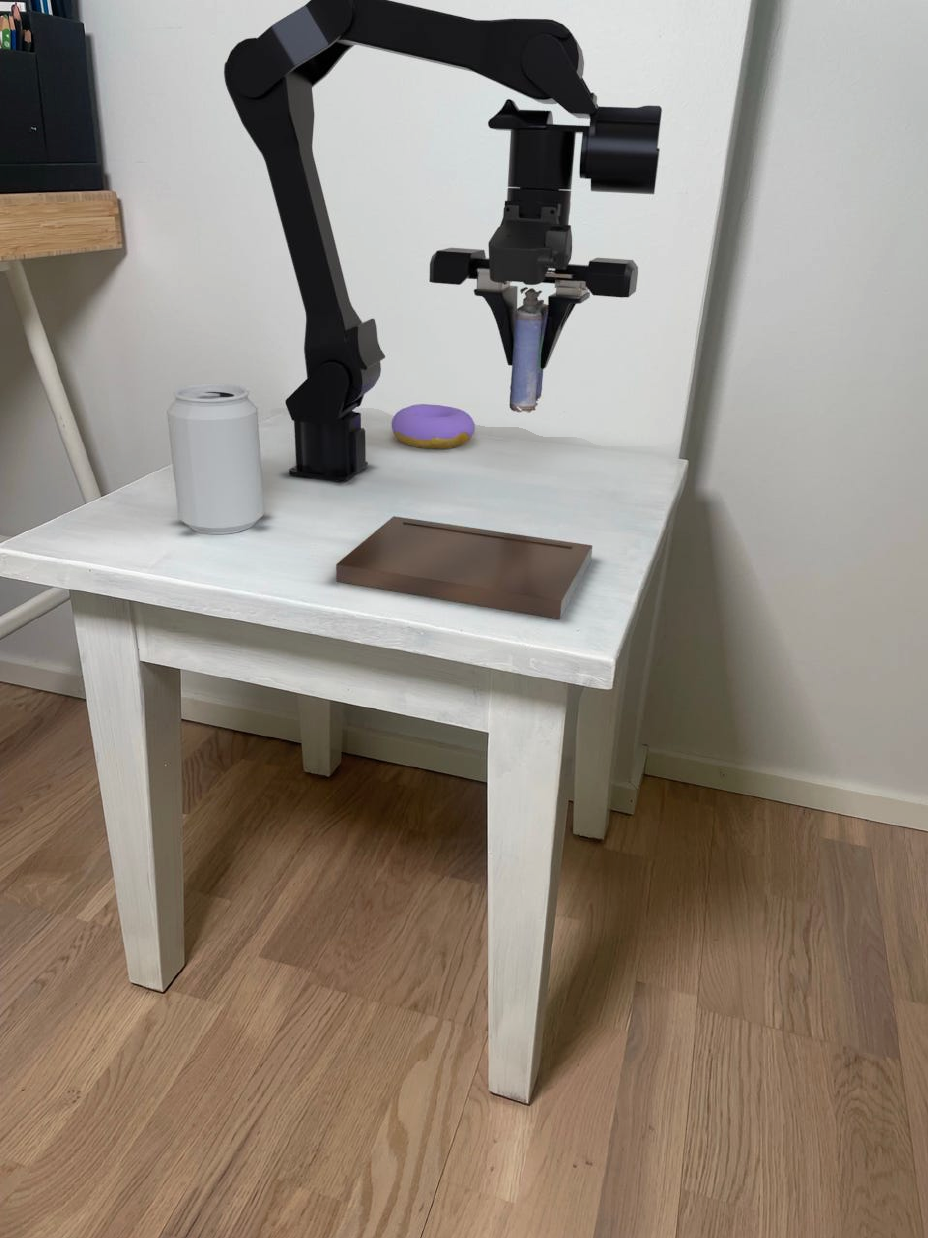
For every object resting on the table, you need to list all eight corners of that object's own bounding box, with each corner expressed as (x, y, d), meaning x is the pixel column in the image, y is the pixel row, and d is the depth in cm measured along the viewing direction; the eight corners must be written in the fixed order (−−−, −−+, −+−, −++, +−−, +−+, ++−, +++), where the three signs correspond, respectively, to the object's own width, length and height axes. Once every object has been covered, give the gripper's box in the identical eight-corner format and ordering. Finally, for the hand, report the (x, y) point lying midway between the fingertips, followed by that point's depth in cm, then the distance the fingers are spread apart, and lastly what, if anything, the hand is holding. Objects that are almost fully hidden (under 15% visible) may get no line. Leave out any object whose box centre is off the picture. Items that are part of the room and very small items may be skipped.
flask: (534, 414, 87) (542, 293, 82) (503, 411, 87) (510, 292, 82) (544, 394, 95) (551, 284, 90) (515, 392, 95) (522, 282, 91)
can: (279, 515, 85) (272, 385, 80) (236, 542, 79) (225, 402, 74) (209, 504, 87) (198, 376, 82) (161, 529, 81) (146, 392, 76)
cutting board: (336, 581, 72) (335, 562, 72) (393, 531, 83) (393, 514, 82) (559, 619, 68) (561, 599, 67) (591, 561, 78) (592, 543, 77)
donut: (380, 444, 107) (382, 401, 105) (401, 441, 115) (404, 401, 114) (464, 452, 105) (467, 409, 104) (479, 448, 114) (483, 408, 112)
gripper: (410, 184, 78) (408, 372, 85) (631, 195, 73) (610, 393, 80) (450, 183, 87) (445, 352, 94) (648, 193, 83) (627, 370, 90)
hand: (527, 366), depth 89 cm, fingers closed on flask, 3 cm apart
